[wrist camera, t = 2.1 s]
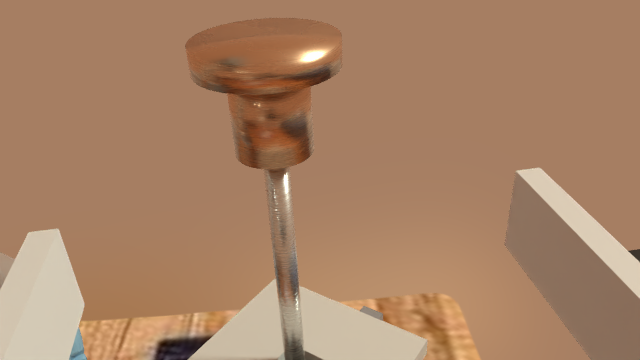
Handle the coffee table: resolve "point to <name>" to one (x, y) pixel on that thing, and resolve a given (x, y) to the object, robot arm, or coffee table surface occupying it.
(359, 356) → the press
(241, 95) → the plunger
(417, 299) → the coffee table surface
